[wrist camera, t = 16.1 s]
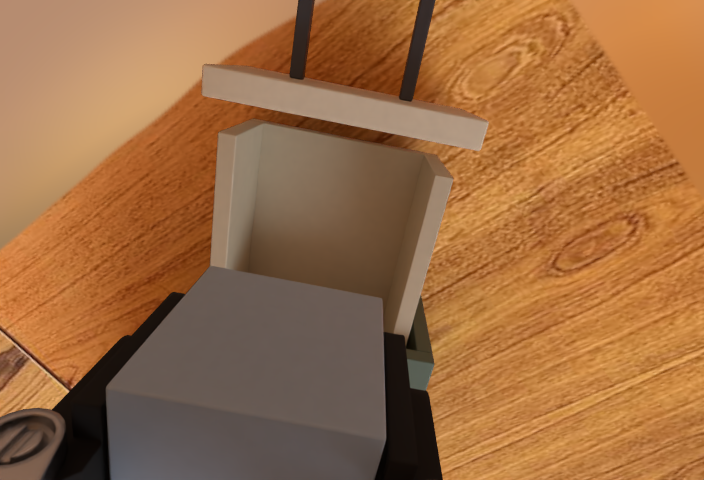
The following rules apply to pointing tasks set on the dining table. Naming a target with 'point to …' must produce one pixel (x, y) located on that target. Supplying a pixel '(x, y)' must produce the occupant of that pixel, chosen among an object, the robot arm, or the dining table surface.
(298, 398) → the block
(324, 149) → the drawer
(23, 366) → the dining table surface
